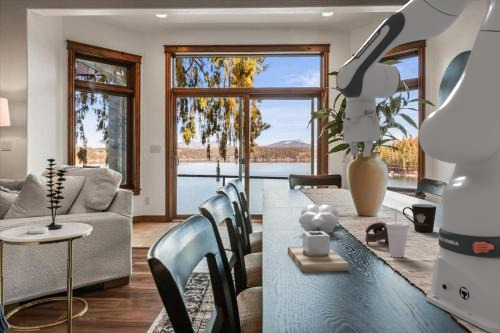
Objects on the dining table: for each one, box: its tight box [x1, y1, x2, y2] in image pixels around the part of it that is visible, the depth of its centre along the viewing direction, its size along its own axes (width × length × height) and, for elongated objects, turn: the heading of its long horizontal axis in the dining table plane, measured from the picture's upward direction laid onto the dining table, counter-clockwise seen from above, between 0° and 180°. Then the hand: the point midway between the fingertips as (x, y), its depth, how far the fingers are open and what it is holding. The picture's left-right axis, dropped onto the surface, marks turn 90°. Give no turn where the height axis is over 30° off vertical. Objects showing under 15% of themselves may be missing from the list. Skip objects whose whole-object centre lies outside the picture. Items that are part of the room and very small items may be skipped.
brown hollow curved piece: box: [365, 221, 389, 245], centre depth 123 cm, size 12×10×8 cm
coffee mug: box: [402, 203, 438, 234], centre depth 143 cm, size 12×9×10 cm
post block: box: [287, 232, 349, 273], centre depth 102 cm, size 18×12×8 cm, turn 6°
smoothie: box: [385, 208, 410, 259], centre depth 107 cm, size 6×6×14 cm
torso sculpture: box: [298, 203, 340, 235], centre depth 143 cm, size 16×11×30 cm
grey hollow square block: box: [302, 230, 331, 255], centre depth 102 cm, size 6×6×5 cm
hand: (360, 156), depth 115 cm, fingers open, 8 cm apart
